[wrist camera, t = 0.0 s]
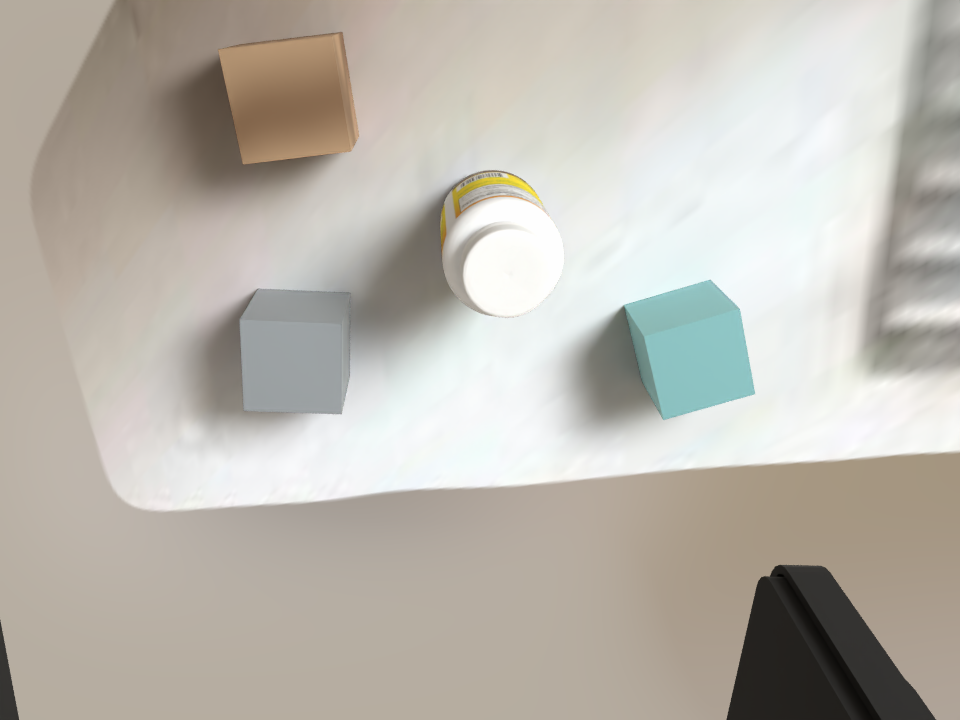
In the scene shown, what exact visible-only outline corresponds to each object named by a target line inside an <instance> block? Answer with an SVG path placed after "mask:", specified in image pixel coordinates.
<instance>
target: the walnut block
mask: <svg viewBox="0 0 960 720" xmlns="http://www.w3.org/2000/svg"><path fill="white" fill-rule="evenodd" d="M218 52H219V57H220V61H221V66H222V70H223V75H224V80H225V84H226V89H227V93H228V98H229V103H230V107H231V112H232V116H233V121H234V126H235V130H236V135H237V140H238V144H239V149H240V153H241V158H242V163H243V164H251V163H260V162H268V161H276V160H284V159H293V158H301V157H309V156H317V155H326V154H334V153H342V152H350V151H352V149H353V147H354V145H355V143H356V141H357V139H358V137H359V132H358V126H357V120H356V114H355V108H354V101H353V95H352V89H351V83H350V77H349V71H348V64H347V58H346V52H345V46H344V40H343V33H342V32H339V33H331V34H322V35H314V36H306V37H297V38H289V39H281V40H272V41H264V42H256V43H247V44H240V45H236V46H231V47H227V48H223V49H218Z"/></svg>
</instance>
